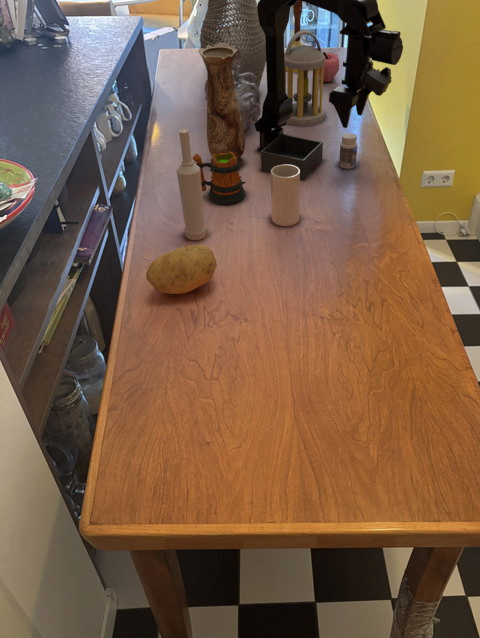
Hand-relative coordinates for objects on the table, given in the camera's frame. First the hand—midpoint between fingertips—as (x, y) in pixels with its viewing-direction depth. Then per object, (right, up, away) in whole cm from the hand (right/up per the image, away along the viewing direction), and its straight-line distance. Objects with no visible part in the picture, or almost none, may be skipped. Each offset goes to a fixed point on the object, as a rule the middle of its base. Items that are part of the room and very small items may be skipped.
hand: (352, 121), depth 157 cm
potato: (-39, -47, -28) cm, 67 cm away
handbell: (-12, +51, +73) cm, 90 cm away
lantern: (-12, +17, +38) cm, 43 cm away
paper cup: (-18, -27, -8) cm, 33 cm away
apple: (-2, +40, +62) cm, 74 cm away
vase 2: (-34, -6, +14) cm, 37 cm away
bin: (-15, -7, +13) cm, 22 cm away
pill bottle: (0, -7, +13) cm, 15 cm away
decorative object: (-38, +52, +74) cm, 97 cm away
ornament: (-32, +11, +32) cm, 46 cm away
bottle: (-39, -33, -13) cm, 52 cm away
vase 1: (-34, +30, +52) cm, 69 cm away
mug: (-34, -19, +1) cm, 39 cm away
